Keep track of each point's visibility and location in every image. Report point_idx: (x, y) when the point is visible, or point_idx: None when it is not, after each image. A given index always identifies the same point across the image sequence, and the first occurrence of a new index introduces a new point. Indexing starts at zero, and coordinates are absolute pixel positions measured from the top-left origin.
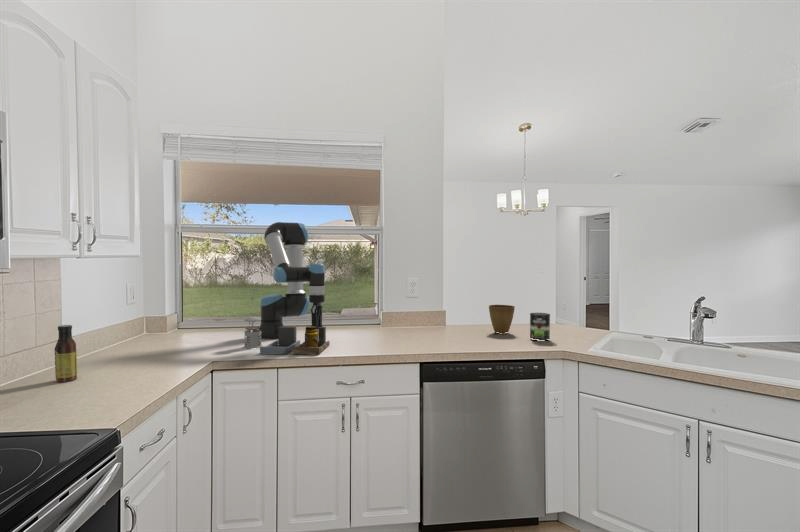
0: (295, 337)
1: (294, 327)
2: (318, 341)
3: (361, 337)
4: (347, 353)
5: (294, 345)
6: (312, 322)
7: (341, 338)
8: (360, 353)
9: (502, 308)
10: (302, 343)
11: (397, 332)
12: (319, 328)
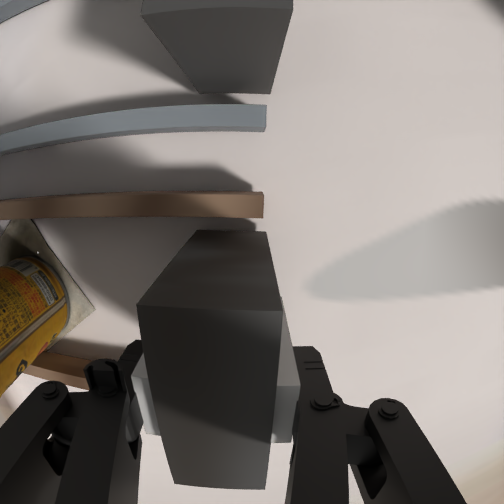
0: (234, 71)
1: (166, 9)
2: None
3: (469, 442)
4: None
5: (76, 138)
6: (2, 444)
7: (486, 375)
8: None
9: None
10: (103, 203)
11: (491, 483)
12: (167, 446)
